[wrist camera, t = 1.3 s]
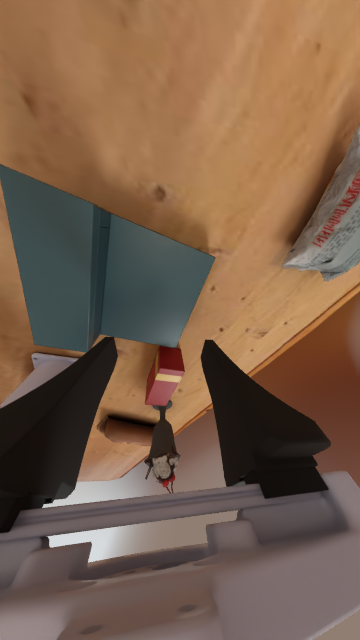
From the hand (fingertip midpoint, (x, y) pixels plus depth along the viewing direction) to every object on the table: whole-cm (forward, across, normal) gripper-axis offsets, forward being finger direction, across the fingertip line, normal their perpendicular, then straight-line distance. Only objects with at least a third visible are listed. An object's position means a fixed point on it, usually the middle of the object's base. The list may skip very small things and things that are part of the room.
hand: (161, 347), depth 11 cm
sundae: (+9, -1, +29) cm, 30 cm away
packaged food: (+11, -19, -11) cm, 25 cm away
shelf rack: (+10, +4, -1) cm, 11 cm away
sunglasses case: (+9, +7, +39) cm, 41 cm away
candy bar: (+10, 0, +14) cm, 17 cm away
